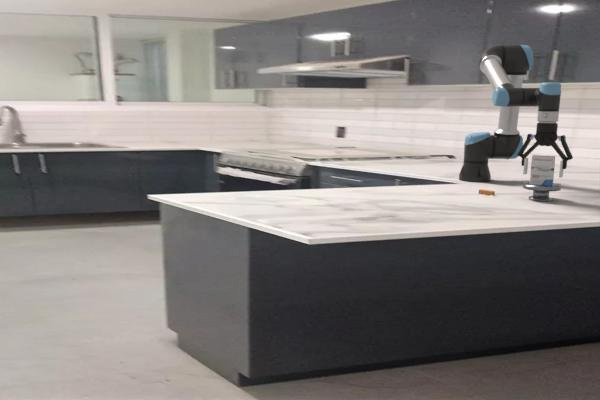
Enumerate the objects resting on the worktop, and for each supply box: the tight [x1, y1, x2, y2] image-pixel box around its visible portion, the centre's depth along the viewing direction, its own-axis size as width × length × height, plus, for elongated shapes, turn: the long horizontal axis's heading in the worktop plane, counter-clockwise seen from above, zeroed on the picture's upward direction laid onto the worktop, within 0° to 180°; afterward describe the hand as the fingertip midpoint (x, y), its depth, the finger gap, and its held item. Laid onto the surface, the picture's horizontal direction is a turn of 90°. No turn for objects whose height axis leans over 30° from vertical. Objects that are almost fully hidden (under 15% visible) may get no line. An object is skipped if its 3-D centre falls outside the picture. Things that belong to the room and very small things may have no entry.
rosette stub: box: [522, 179, 562, 202], centre depth 216 cm, size 14×14×7 cm
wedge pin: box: [478, 188, 496, 196], centre depth 228 cm, size 6×2×2 cm, turn 42°
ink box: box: [529, 154, 556, 186], centre depth 215 cm, size 8×5×12 cm, turn 64°
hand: (542, 175), depth 215 cm, fingers open, 13 cm apart
